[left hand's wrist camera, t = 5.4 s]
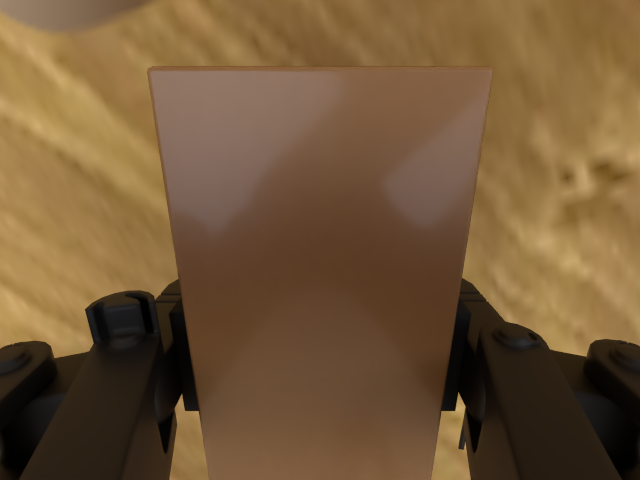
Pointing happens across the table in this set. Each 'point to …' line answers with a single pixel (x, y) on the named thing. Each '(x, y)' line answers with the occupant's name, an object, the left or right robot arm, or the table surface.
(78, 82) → the table surface
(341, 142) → the post
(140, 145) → the table surface
